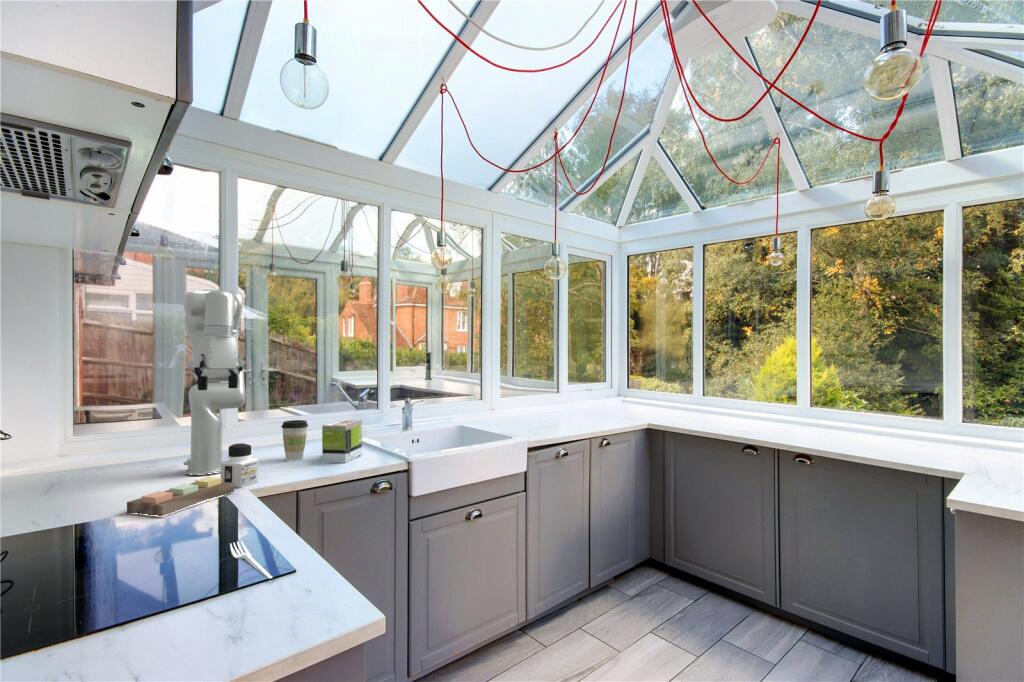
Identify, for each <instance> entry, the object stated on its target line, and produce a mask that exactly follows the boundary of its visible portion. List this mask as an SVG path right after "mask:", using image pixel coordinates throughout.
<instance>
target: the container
mask: <svg viewBox="0 0 1024 682" xmlns="http://www.w3.org/2000/svg"><path fill="white" fill-rule="evenodd" d="M252 445H253V444H252ZM252 445H251V444H250V443H248V442H240V443H233V444H231V445H229V446H228V455H227V456H228V460H225V461H222V463H221V473H220V478H221V482H229V483H234V488H236V487H238V488H237V489H241V488H244V487H247V486H249V485H253V484H255V483H258V482H259V459H258V458H253V457H252Z"/></svg>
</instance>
